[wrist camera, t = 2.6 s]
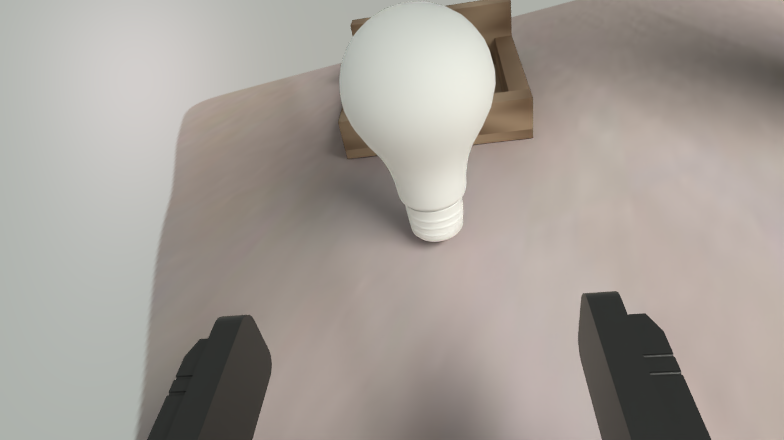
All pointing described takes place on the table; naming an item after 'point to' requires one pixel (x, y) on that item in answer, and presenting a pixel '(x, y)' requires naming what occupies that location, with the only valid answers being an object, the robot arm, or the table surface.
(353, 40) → the lightbulb
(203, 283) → the table surface
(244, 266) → the table surface
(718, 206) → the table surface
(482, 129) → the cradle
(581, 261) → the table surface
